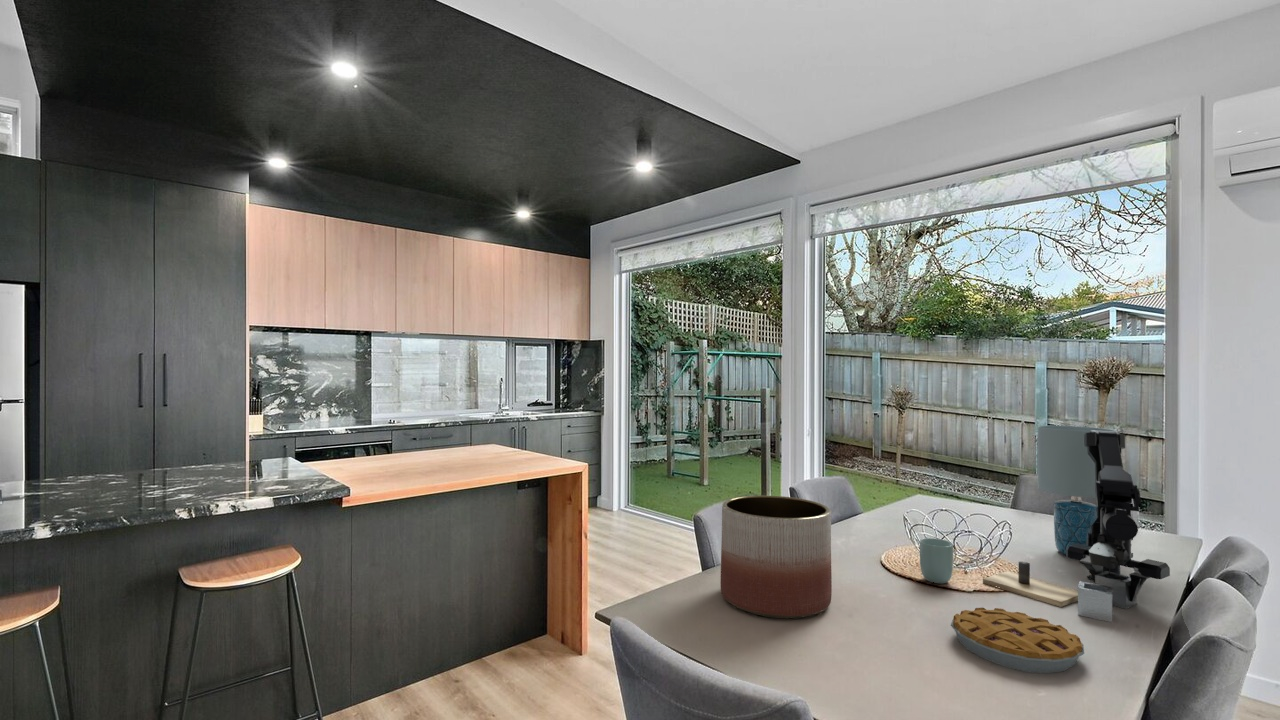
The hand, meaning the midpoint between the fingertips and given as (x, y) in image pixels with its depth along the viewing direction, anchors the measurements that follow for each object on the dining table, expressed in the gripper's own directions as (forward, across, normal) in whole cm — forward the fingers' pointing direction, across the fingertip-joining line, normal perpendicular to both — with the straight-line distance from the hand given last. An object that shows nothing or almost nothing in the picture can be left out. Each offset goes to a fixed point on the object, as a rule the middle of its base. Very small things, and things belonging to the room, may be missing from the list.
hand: (1115, 596), depth 143 cm
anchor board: (+1, -14, -9) cm, 17 cm away
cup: (+1, -30, -24) cm, 38 cm away
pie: (+2, +1, -47) cm, 47 cm away
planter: (+2, -41, -70) cm, 81 cm away
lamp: (+1, -23, +35) cm, 42 cm away
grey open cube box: (+1, +1, -13) cm, 13 cm away
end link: (+1, 0, 0) cm, 1 cm away
